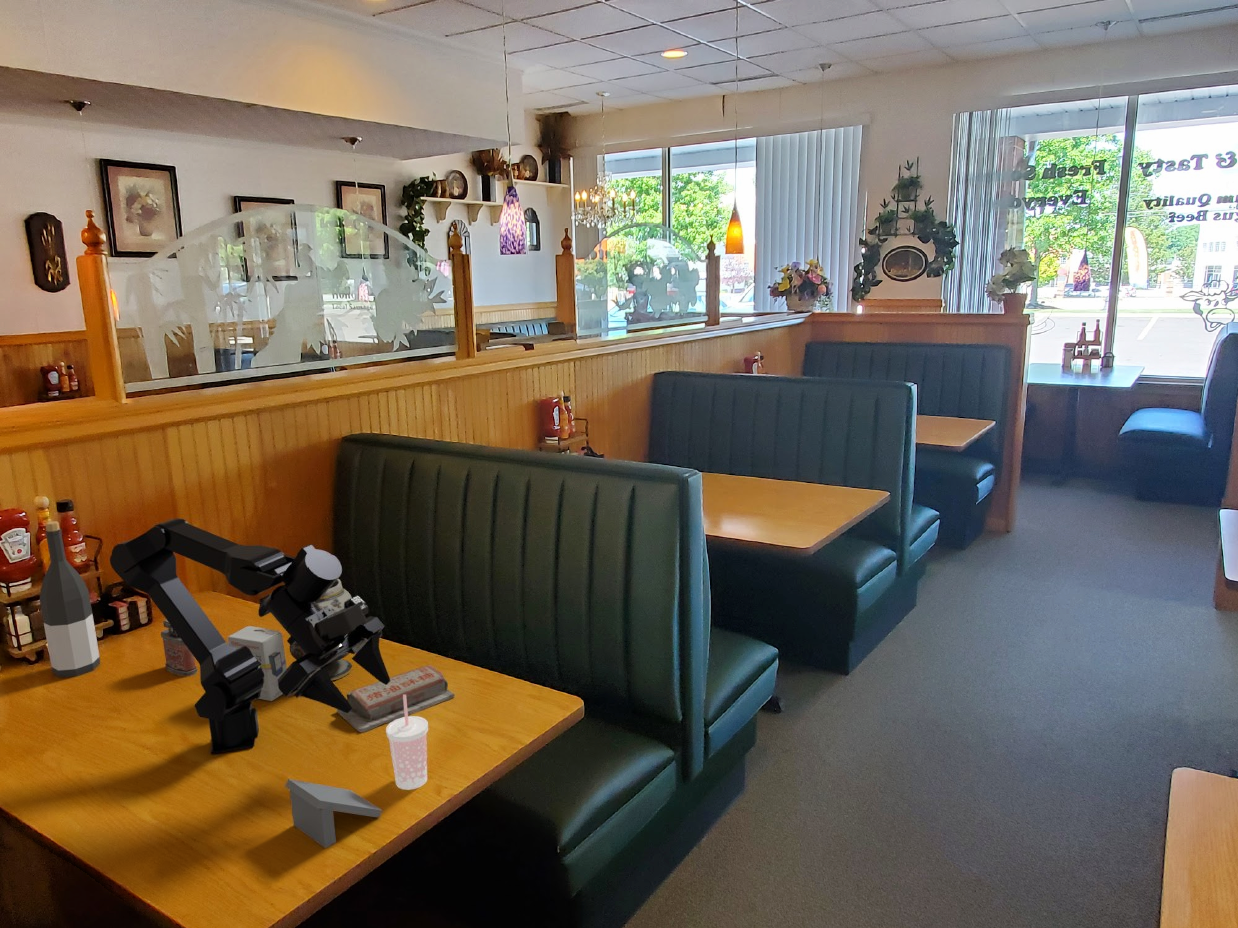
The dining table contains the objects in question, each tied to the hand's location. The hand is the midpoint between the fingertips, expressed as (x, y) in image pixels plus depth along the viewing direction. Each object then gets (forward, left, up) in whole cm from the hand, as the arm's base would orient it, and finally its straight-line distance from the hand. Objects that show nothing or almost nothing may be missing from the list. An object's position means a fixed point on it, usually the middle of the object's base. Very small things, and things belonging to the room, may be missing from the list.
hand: (369, 696), depth 129 cm
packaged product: (+4, +21, -13) cm, 26 cm away
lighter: (-35, +51, -13) cm, 63 cm away
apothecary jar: (-8, +40, -13) cm, 42 cm away
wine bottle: (-55, +59, -13) cm, 81 cm away
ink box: (-19, +35, -13) cm, 42 cm away
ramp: (-6, -11, -13) cm, 18 cm away
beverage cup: (+5, -4, -13) cm, 14 cm away
